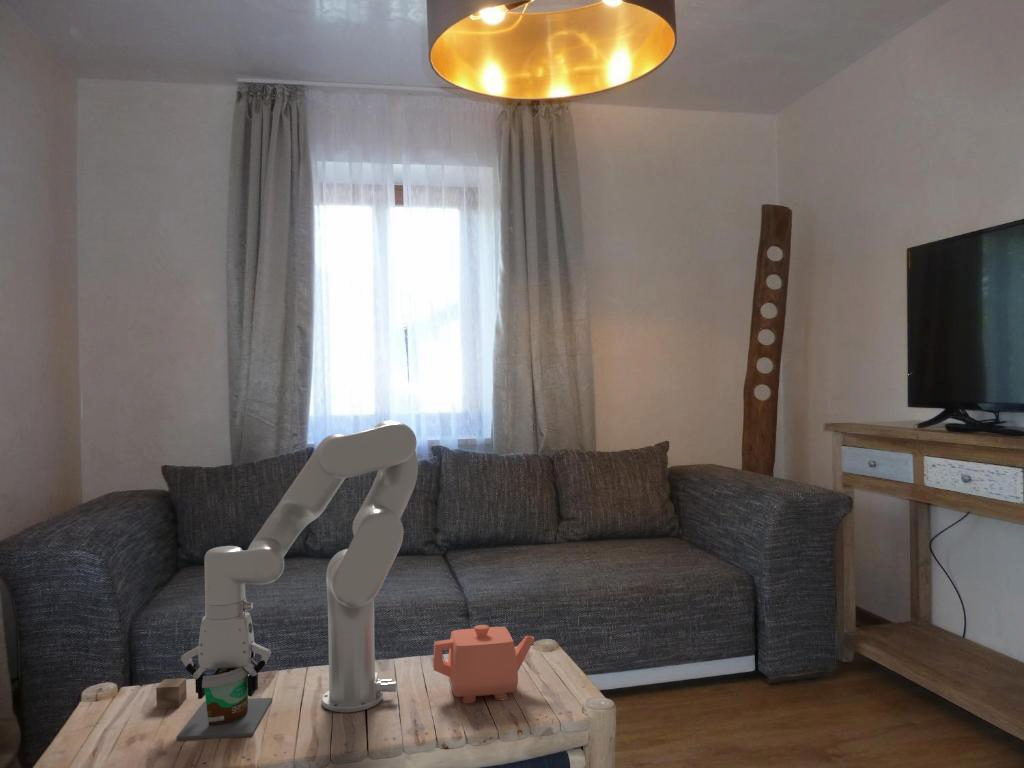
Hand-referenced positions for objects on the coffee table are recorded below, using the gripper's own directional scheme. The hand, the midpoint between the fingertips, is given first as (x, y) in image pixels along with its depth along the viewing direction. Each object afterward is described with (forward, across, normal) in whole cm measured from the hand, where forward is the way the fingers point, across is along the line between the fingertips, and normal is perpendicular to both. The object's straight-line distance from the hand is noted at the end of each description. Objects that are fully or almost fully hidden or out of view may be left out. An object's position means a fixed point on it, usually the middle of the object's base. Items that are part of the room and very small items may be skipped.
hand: (227, 694), depth 149 cm
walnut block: (+5, +14, -9) cm, 17 cm away
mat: (+5, 0, 0) cm, 5 cm away
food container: (+4, -2, 0) cm, 5 cm away
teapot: (+5, -52, -7) cm, 53 cm away
